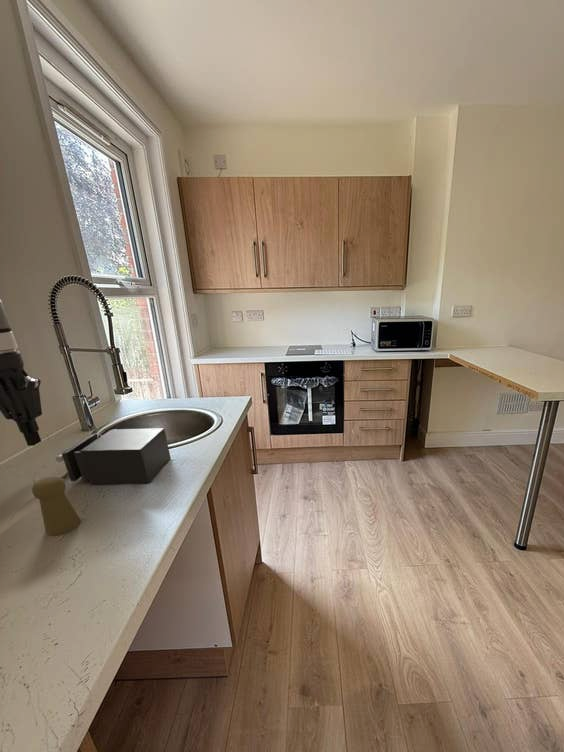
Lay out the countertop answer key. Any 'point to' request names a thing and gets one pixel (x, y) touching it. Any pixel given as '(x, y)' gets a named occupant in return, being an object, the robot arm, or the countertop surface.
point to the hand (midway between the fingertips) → (34, 443)
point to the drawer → (76, 458)
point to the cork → (55, 506)
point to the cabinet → (126, 456)
